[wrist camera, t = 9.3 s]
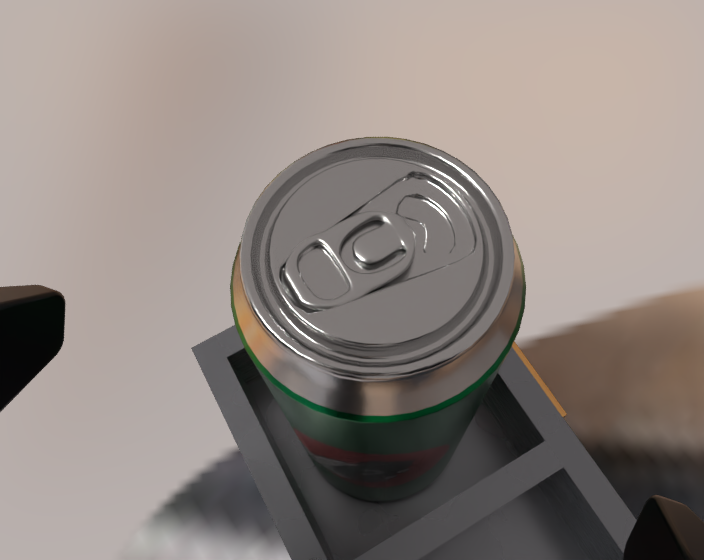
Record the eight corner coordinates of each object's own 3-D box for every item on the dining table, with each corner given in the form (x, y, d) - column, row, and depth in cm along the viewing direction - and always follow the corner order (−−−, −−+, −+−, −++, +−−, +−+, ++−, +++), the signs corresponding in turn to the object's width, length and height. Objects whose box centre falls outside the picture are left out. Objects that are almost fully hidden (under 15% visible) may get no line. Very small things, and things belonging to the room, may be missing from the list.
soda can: (488, 450, 20) (612, 293, 9) (352, 535, 19) (309, 475, 8) (404, 324, 22) (423, 75, 11) (277, 396, 21) (164, 199, 10)
